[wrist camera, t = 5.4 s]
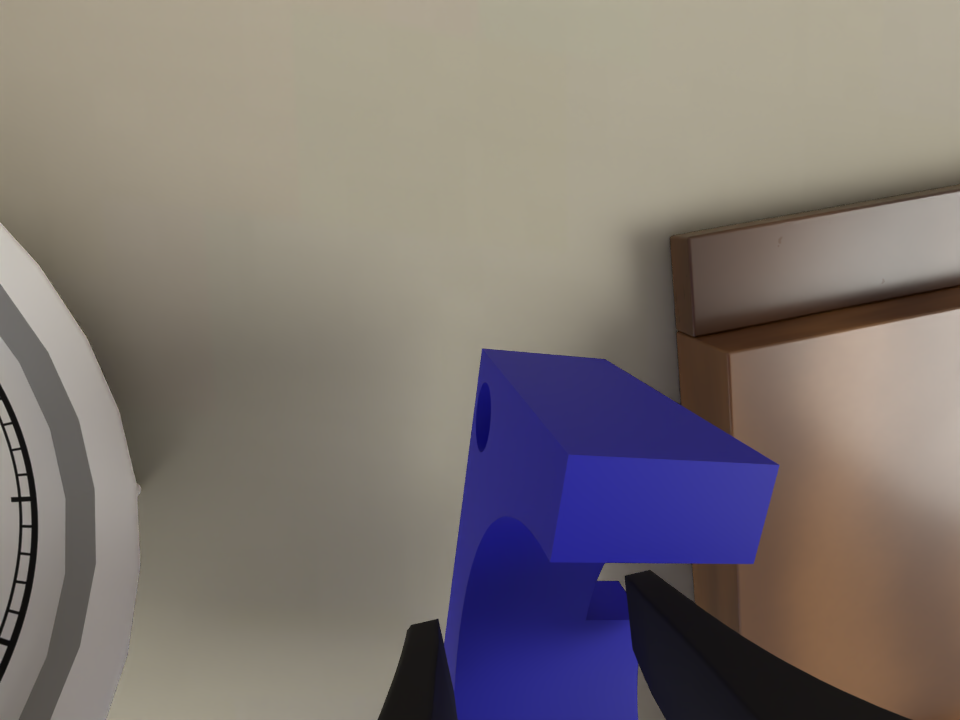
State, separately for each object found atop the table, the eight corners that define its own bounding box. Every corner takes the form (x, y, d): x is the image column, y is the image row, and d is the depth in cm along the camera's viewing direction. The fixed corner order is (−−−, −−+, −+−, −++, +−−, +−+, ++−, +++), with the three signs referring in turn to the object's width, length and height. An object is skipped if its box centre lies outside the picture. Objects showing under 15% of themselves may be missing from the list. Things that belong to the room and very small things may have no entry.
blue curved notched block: (581, 762, 16) (693, 1061, 10) (427, 772, 15) (456, 1106, 9) (662, 364, 13) (872, 470, 8) (482, 348, 13) (568, 453, 7)
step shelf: (707, 796, 23) (783, 941, 18) (668, 235, 17) (767, 241, 12) (980, 723, 24) (1117, 844, 19) (1036, 170, 18) (1255, 153, 13)
